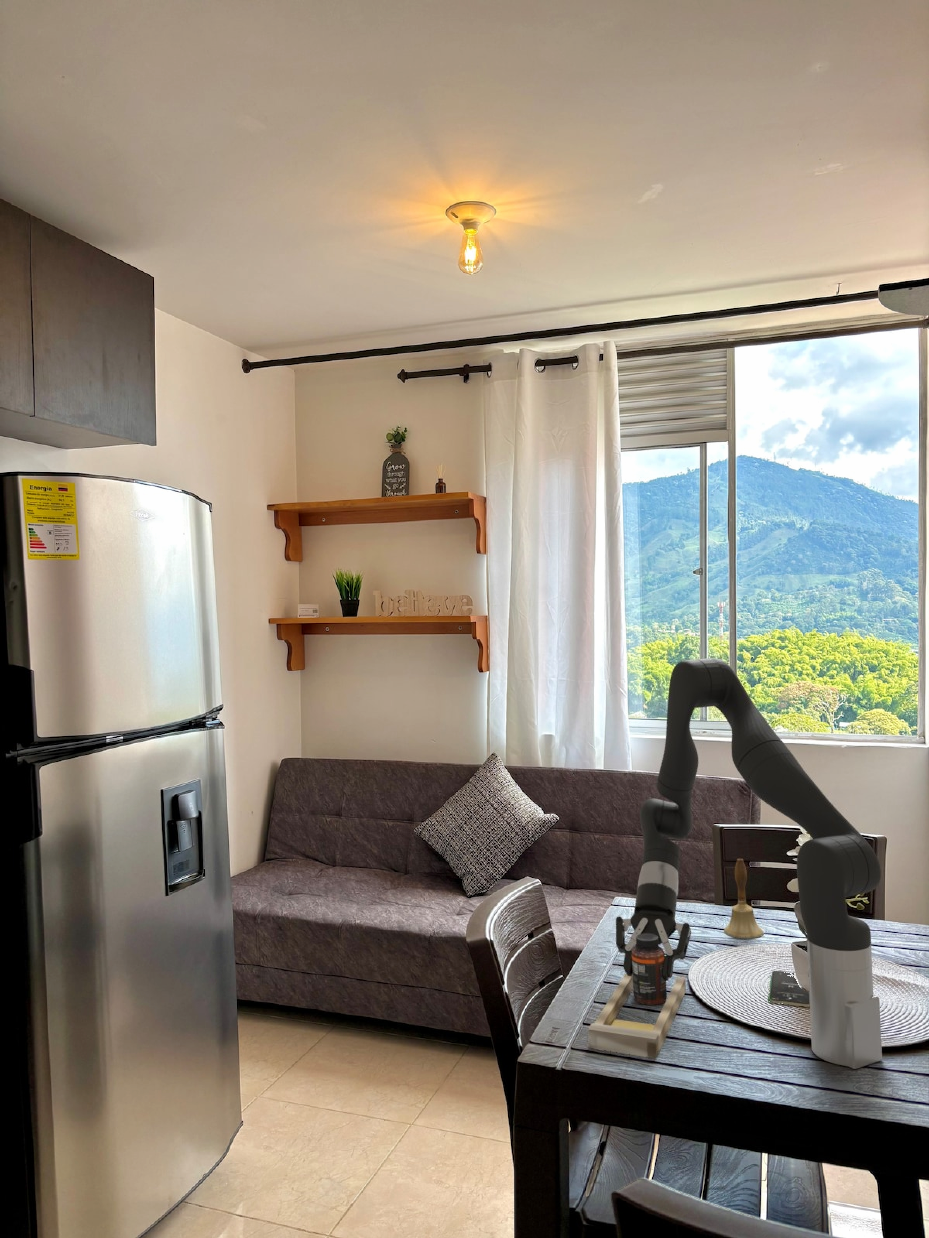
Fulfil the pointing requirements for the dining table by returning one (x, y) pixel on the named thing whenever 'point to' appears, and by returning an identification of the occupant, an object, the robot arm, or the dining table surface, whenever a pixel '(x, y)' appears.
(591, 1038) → the open wooden tray frame
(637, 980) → the supplement bottle
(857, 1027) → the robot arm
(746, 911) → the hand bell
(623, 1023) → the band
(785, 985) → the small black book
